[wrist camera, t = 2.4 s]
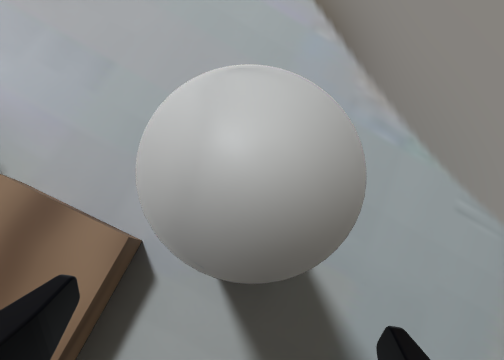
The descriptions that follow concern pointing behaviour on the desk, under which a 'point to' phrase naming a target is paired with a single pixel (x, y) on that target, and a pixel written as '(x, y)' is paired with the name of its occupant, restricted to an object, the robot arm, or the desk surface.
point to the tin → (251, 174)
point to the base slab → (59, 255)
